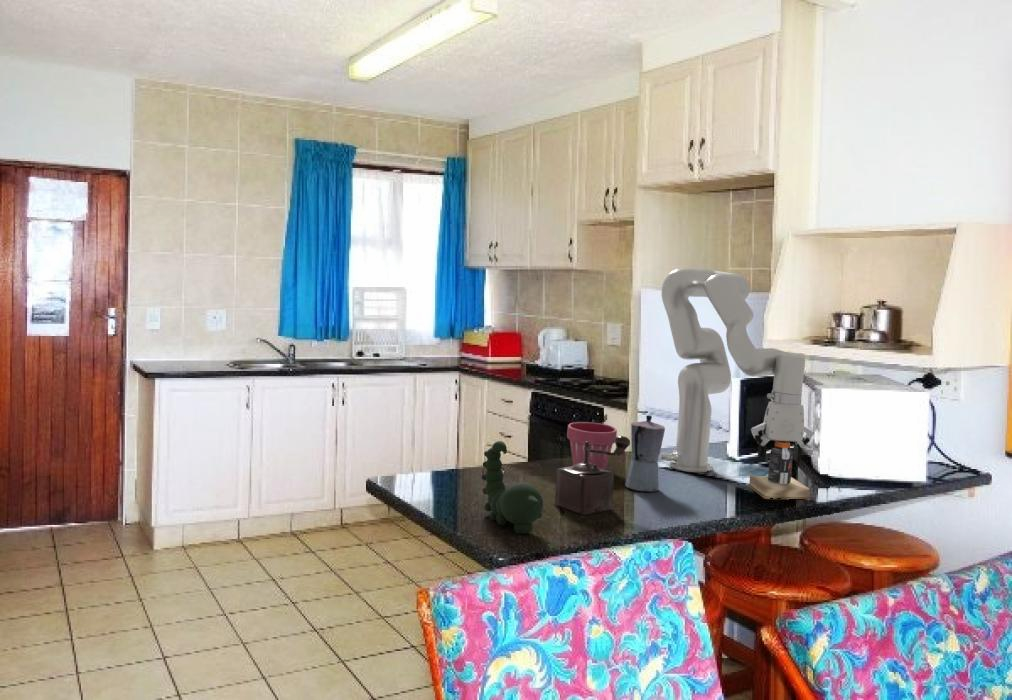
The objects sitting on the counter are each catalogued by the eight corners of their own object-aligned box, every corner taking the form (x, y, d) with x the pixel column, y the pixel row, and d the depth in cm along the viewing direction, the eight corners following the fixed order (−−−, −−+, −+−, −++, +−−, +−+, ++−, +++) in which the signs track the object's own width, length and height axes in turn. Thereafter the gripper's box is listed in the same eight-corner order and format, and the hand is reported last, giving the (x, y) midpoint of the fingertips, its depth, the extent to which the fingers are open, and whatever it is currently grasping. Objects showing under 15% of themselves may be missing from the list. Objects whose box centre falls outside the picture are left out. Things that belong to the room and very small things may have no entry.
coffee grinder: (584, 516, 209) (589, 442, 207) (553, 504, 218) (557, 433, 216) (629, 507, 219) (634, 436, 217) (597, 496, 228) (602, 428, 225)
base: (764, 498, 233) (765, 487, 233) (747, 485, 246) (748, 475, 246) (810, 500, 235) (811, 489, 234) (791, 487, 247) (791, 476, 247)
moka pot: (666, 485, 242) (672, 414, 239) (651, 498, 228) (657, 423, 225) (633, 479, 246) (638, 409, 243) (616, 492, 232) (621, 418, 229)
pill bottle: (791, 485, 236) (795, 444, 235) (768, 483, 238) (772, 442, 236) (789, 480, 242) (792, 440, 241) (766, 478, 243) (770, 438, 242)
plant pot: (624, 473, 252) (627, 429, 251) (586, 478, 244) (589, 433, 243) (592, 462, 264) (595, 420, 263) (555, 466, 256) (557, 423, 255)
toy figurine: (471, 518, 209) (517, 543, 186) (472, 439, 208) (519, 454, 186) (507, 515, 213) (556, 538, 190) (508, 437, 212) (558, 452, 190)
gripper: (760, 399, 233) (753, 462, 235) (823, 403, 234) (815, 465, 237) (750, 394, 240) (743, 455, 243) (811, 397, 242) (803, 457, 244)
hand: (779, 460), depth 240 cm, fingers open, 9 cm apart
